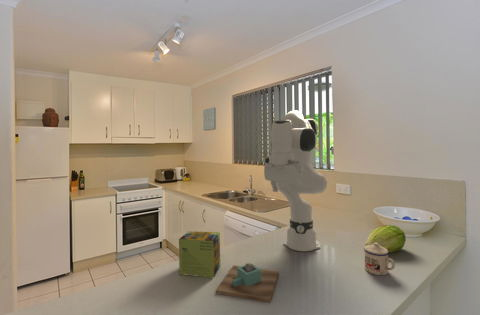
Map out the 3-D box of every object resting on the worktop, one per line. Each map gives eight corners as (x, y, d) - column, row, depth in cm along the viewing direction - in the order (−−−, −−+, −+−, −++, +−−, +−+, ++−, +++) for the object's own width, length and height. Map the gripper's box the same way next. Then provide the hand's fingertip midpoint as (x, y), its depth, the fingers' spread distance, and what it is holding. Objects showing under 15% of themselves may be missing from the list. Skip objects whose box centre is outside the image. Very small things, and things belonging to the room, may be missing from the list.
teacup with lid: (359, 268, 107) (359, 242, 107) (372, 263, 112) (372, 237, 112) (388, 281, 97) (388, 251, 97) (400, 275, 102) (400, 246, 101)
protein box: (214, 278, 102) (213, 240, 101) (179, 275, 105) (178, 238, 104) (221, 266, 112) (220, 232, 112) (188, 263, 115) (187, 230, 114)
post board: (233, 267, 110) (233, 251, 110) (279, 274, 104) (278, 257, 104) (215, 293, 91) (215, 274, 91) (270, 302, 85) (269, 282, 85)
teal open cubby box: (251, 274, 102) (250, 263, 102) (261, 281, 97) (260, 269, 97) (229, 282, 97) (228, 270, 96) (238, 290, 91) (238, 277, 91)
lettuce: (352, 236, 129) (370, 229, 118) (382, 226, 137) (401, 218, 126) (365, 262, 124) (385, 257, 113) (396, 250, 132) (417, 244, 121)
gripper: (306, 160, 94) (307, 196, 95) (273, 158, 112) (273, 189, 113) (294, 161, 91) (294, 198, 92) (261, 159, 109) (262, 190, 109)
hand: (282, 193), depth 102 cm, fingers open, 8 cm apart
